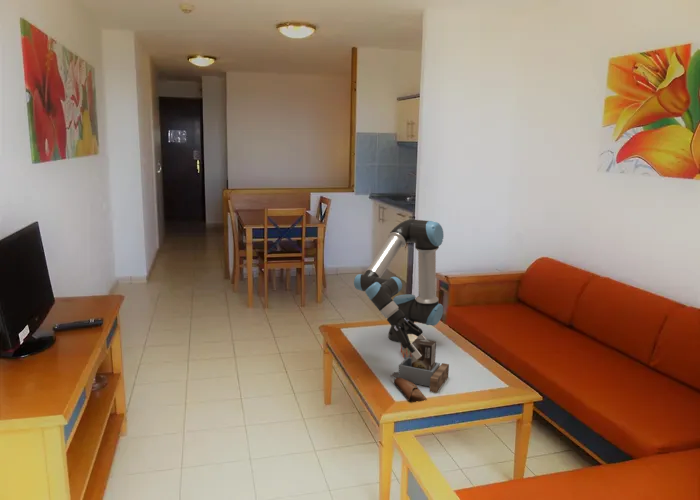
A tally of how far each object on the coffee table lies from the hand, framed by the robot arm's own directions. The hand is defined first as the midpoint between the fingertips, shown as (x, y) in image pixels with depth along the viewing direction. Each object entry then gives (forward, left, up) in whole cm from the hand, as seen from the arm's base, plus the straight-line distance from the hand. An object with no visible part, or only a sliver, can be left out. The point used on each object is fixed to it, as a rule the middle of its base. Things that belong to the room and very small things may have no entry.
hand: (424, 352), depth 233 cm
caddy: (0, -2, -13) cm, 13 cm away
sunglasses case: (+13, -1, -14) cm, 19 cm away
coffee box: (0, 0, -12) cm, 12 cm away
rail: (0, -4, -13) cm, 14 cm away
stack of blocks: (-21, -13, -13) cm, 28 cm away
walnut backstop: (0, +7, -13) cm, 15 cm away
